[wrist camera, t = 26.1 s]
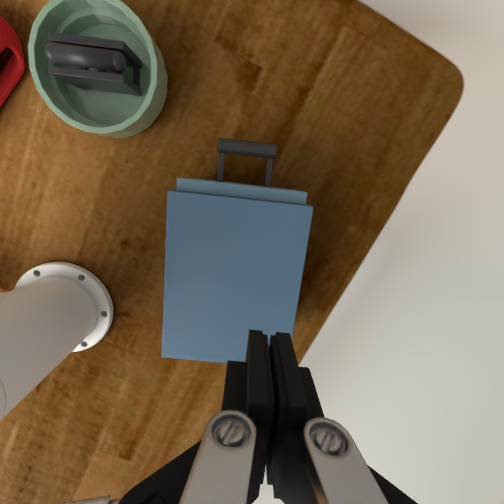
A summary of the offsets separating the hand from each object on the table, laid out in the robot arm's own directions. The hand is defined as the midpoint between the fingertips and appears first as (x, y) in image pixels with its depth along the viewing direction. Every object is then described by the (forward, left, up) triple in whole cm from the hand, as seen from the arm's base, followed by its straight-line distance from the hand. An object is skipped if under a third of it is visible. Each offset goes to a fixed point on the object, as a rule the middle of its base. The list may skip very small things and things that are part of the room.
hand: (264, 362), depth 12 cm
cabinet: (-2, -3, -25) cm, 25 cm away
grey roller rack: (-18, +16, -24) cm, 34 cm away
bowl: (-18, +16, -25) cm, 35 cm away
